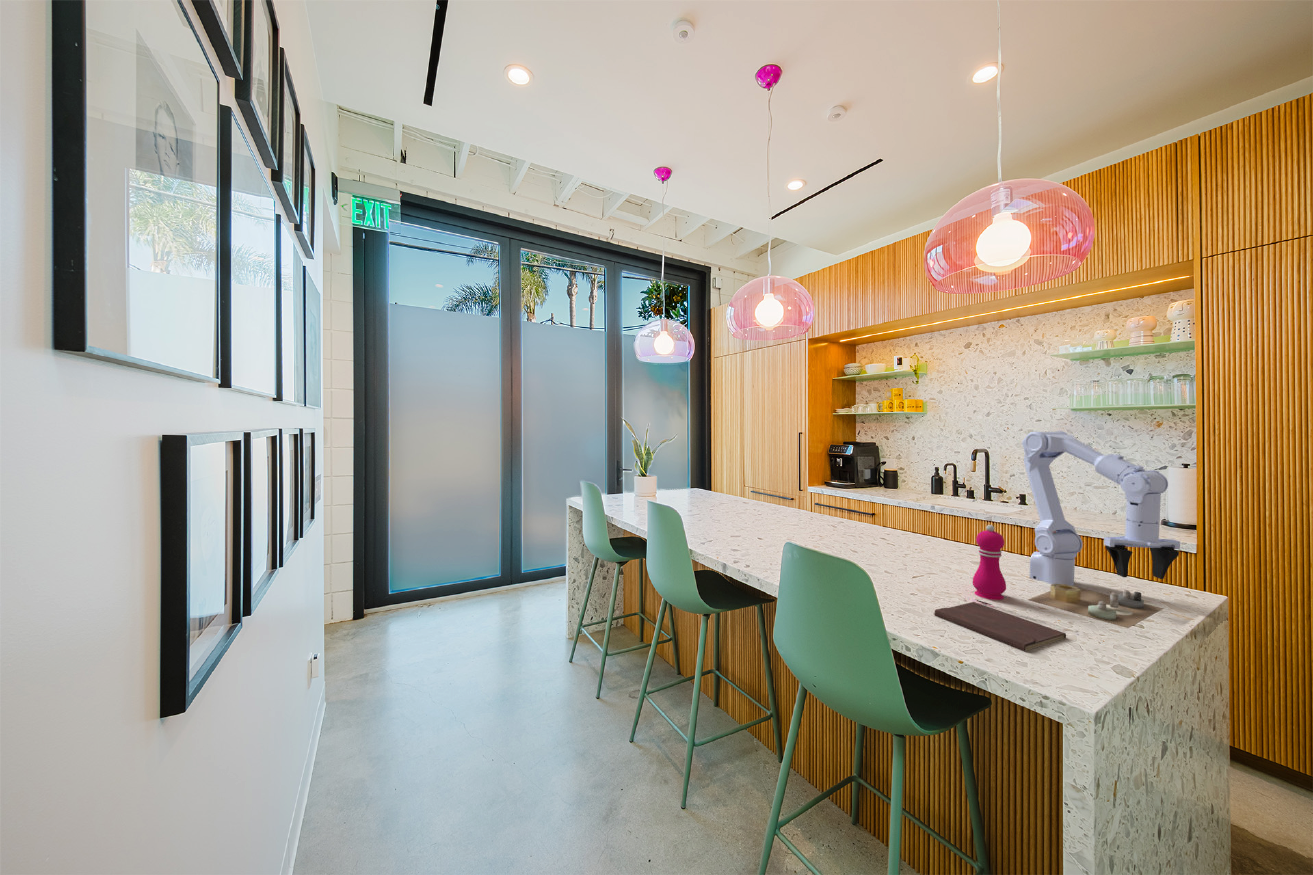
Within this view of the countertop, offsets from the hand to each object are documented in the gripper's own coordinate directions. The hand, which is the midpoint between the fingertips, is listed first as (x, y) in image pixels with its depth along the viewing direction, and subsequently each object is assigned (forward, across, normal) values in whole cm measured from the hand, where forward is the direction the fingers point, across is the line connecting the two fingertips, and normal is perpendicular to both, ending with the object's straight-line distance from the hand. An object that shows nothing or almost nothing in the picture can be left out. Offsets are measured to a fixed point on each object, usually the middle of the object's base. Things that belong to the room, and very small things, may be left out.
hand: (1140, 576), depth 116 cm
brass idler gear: (+8, -13, +4) cm, 16 cm away
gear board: (+9, -9, +1) cm, 13 cm away
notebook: (+10, -37, -13) cm, 41 cm away
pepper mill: (+10, -31, +4) cm, 33 cm away
